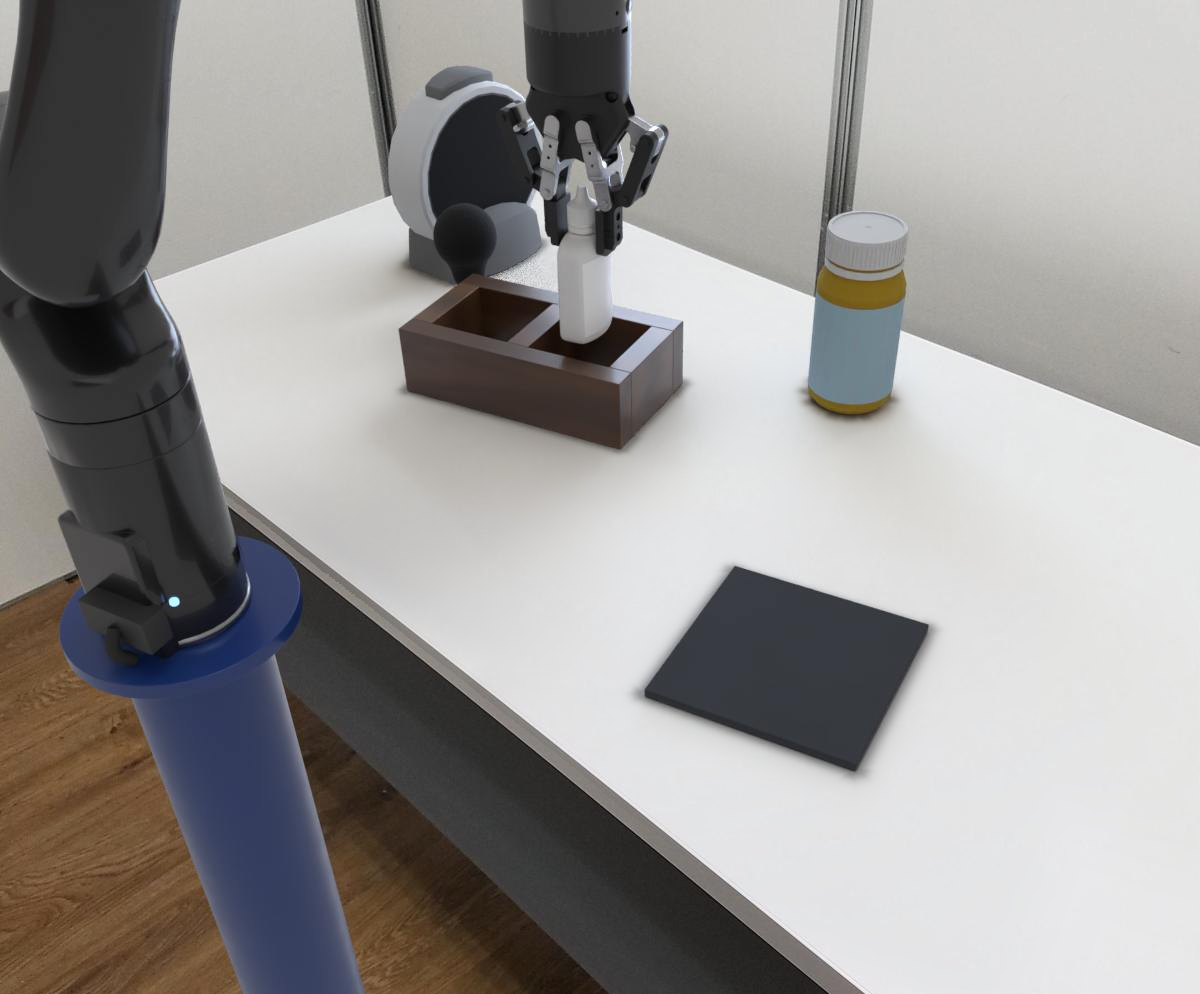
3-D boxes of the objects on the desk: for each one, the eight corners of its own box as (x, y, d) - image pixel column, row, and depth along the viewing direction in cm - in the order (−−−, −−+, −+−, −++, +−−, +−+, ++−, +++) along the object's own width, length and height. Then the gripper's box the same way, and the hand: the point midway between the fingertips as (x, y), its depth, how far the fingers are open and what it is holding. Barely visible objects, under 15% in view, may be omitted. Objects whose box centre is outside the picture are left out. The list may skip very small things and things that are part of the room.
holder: (620, 449, 101) (619, 384, 97) (407, 390, 109) (397, 328, 106) (682, 383, 109) (683, 320, 105) (478, 333, 117) (472, 272, 113)
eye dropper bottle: (630, 329, 103) (629, 185, 95) (573, 350, 100) (566, 204, 93) (599, 310, 106) (596, 168, 98) (543, 329, 103) (535, 185, 95)
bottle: (848, 366, 110) (867, 200, 101) (908, 398, 106) (933, 228, 96) (789, 392, 107) (803, 224, 98) (848, 427, 103) (868, 254, 93)
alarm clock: (449, 295, 123) (427, 105, 111) (383, 266, 128) (356, 81, 117) (566, 241, 132) (557, 59, 120) (500, 215, 137) (485, 39, 125)
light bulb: (456, 289, 124) (445, 190, 118) (511, 296, 123) (503, 196, 116) (431, 316, 120) (419, 215, 113) (489, 324, 118) (479, 222, 112)
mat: (855, 771, 74) (856, 764, 74) (644, 696, 80) (644, 689, 79) (927, 630, 84) (929, 624, 83) (734, 571, 89) (734, 565, 89)
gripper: (461, 14, 88) (482, 249, 99) (643, 39, 82) (643, 284, 93) (518, -12, 93) (531, 214, 104) (692, 9, 87) (686, 245, 98)
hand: (584, 246), depth 98 cm, fingers closed on eye dropper bottle, 3 cm apart
